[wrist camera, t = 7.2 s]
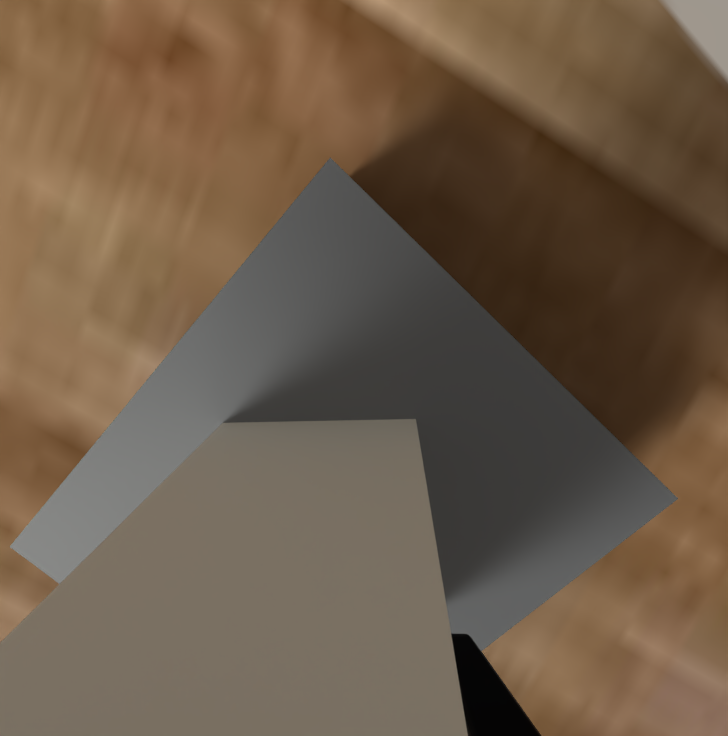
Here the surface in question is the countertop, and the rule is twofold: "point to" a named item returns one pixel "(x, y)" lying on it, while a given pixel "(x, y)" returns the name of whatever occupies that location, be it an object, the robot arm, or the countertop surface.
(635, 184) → the countertop surface
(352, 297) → the podium
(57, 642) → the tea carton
